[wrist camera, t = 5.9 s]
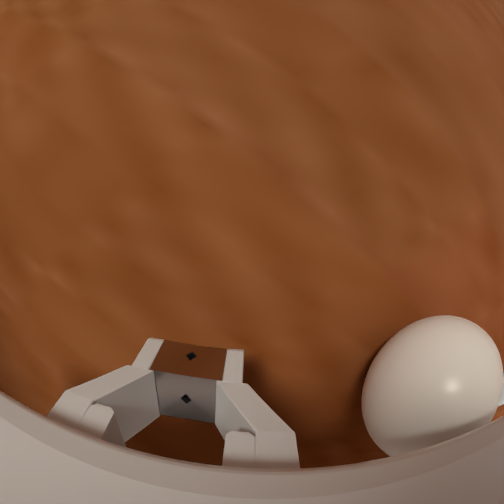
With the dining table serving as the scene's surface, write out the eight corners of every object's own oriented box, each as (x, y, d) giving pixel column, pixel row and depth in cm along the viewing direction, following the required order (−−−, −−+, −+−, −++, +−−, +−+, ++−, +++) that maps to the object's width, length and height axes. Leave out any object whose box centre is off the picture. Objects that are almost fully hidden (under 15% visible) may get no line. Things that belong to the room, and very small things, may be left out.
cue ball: (465, 429, 8) (382, 381, 12) (527, 328, 6) (423, 281, 10) (420, 513, 4) (311, 437, 9) (533, 399, 3) (364, 312, 7)
